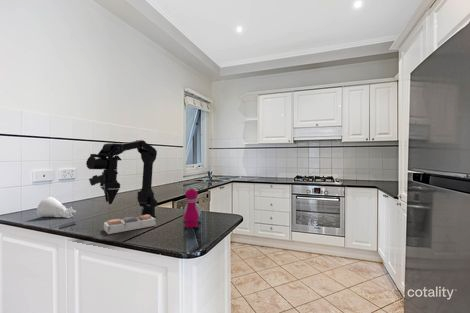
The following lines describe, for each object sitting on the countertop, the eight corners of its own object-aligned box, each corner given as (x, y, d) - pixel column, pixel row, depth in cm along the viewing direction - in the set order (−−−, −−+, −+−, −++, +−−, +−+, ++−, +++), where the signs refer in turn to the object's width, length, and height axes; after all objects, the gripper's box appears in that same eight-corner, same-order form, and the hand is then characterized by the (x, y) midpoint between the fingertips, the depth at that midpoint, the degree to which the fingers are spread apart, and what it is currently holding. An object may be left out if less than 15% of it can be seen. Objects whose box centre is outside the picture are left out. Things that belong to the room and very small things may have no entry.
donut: (201, 220, 130) (201, 201, 130) (198, 222, 126) (198, 203, 127) (186, 218, 133) (186, 200, 134) (182, 220, 130) (182, 201, 130)
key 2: (148, 218, 124) (148, 214, 124) (151, 219, 121) (151, 215, 121) (138, 219, 121) (138, 215, 121) (141, 221, 118) (141, 217, 118)
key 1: (118, 222, 115) (118, 218, 115) (121, 224, 112) (121, 220, 112) (108, 224, 112) (108, 220, 112) (110, 226, 109) (110, 222, 109)
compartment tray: (149, 221, 127) (149, 215, 127) (155, 225, 120) (155, 218, 120) (103, 229, 113) (103, 222, 113) (108, 234, 106) (108, 226, 106)
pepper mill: (184, 224, 122) (185, 185, 122) (199, 224, 122) (199, 184, 122) (183, 228, 114) (183, 186, 115) (198, 228, 115) (198, 186, 115)
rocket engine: (76, 200, 137) (50, 193, 140) (60, 217, 128) (33, 208, 131) (84, 212, 145) (59, 205, 148) (69, 228, 136) (43, 220, 139)
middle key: (133, 220, 120) (133, 216, 120) (136, 222, 116) (136, 218, 116) (124, 221, 117) (124, 217, 117) (126, 223, 113) (126, 219, 113)
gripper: (88, 169, 116) (87, 201, 116) (92, 169, 101) (90, 206, 100) (114, 169, 123) (112, 200, 122) (121, 169, 108) (119, 205, 107)
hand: (108, 202), depth 113 cm, fingers open, 9 cm apart
